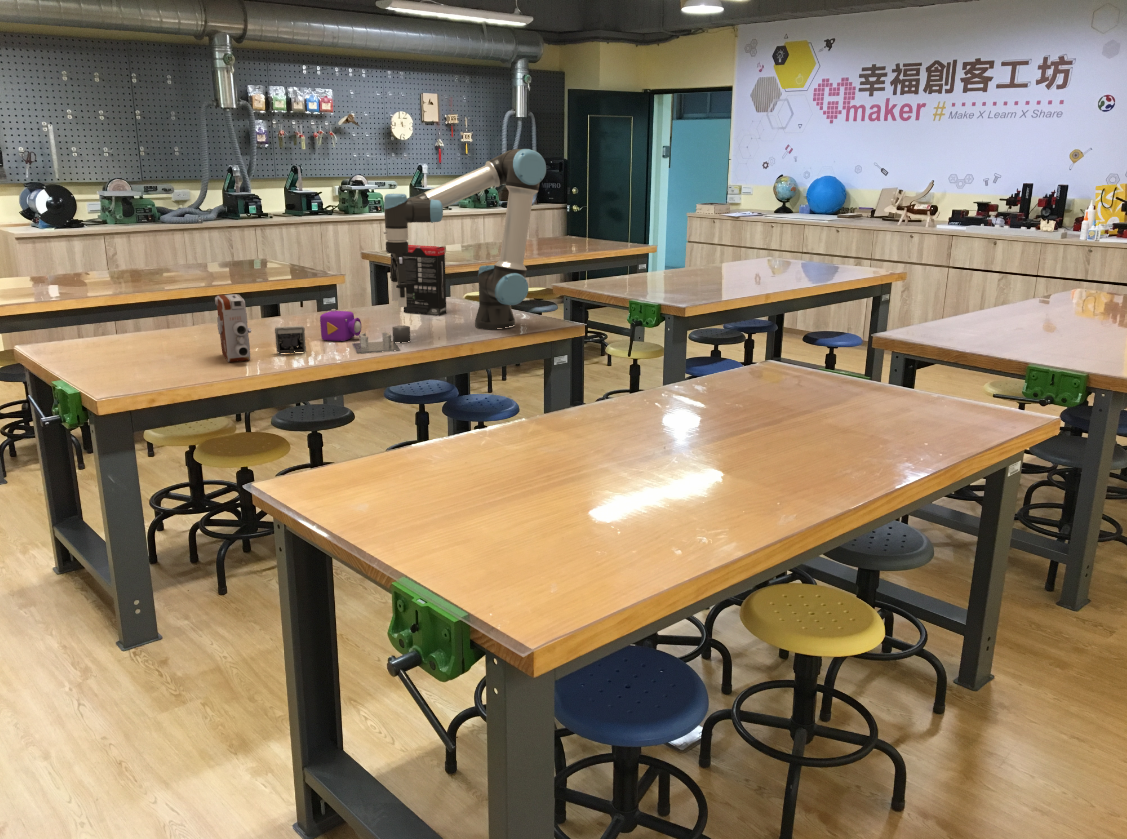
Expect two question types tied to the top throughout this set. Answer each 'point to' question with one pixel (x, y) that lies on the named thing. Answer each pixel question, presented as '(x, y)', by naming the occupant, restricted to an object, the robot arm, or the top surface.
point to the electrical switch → (290, 339)
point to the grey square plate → (375, 344)
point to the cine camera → (233, 327)
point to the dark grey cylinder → (401, 334)
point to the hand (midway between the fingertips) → (399, 303)
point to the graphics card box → (425, 280)
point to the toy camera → (339, 325)
